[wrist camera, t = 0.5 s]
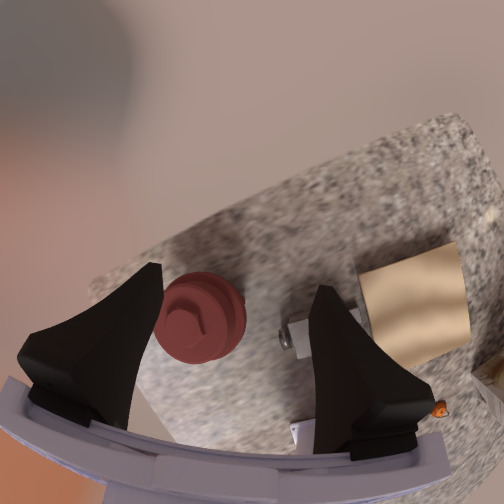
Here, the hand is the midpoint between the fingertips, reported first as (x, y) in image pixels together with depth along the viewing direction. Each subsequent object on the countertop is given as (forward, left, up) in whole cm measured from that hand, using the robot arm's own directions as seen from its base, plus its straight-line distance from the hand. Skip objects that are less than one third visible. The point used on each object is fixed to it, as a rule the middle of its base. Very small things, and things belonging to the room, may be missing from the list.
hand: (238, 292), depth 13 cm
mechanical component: (-3, +10, -24) cm, 26 cm away
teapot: (-29, -17, -24) cm, 41 cm away
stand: (-11, -15, -24) cm, 30 cm away
